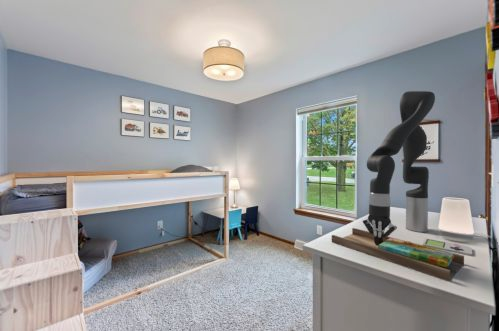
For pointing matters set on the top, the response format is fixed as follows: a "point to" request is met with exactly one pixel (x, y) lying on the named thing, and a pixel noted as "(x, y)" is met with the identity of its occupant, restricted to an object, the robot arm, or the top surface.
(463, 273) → the top surface
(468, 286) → the top surface
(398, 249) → the puzzle game
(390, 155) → the robot arm
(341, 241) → the channel
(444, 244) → the handheld gaming console
